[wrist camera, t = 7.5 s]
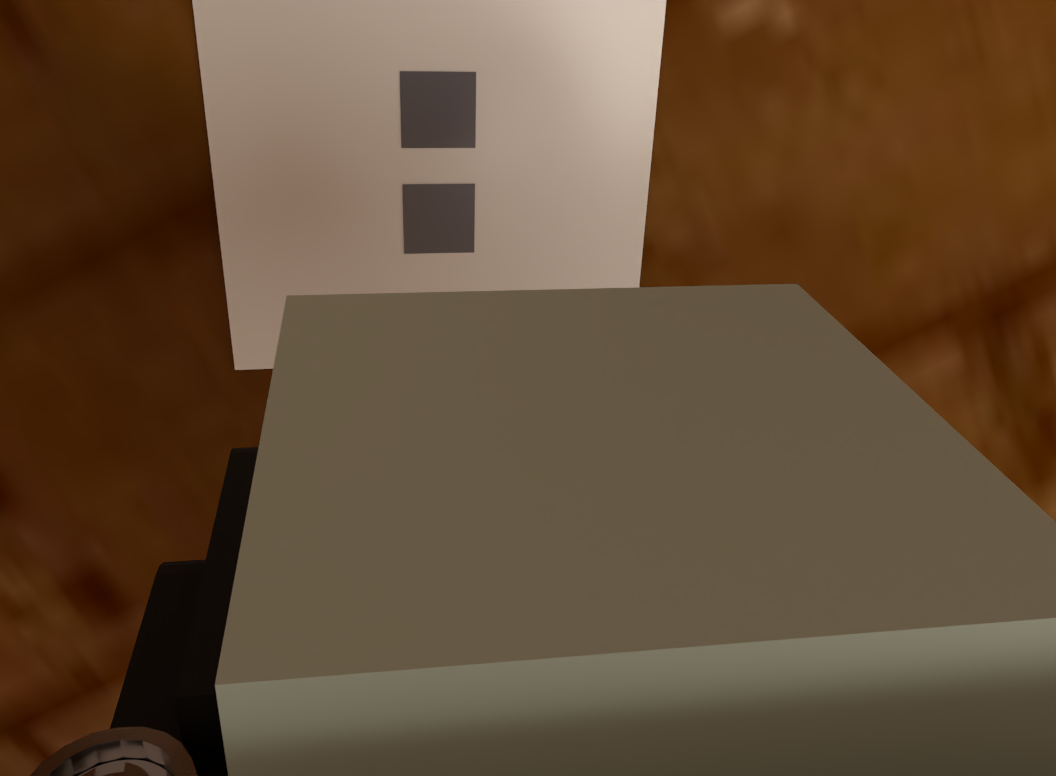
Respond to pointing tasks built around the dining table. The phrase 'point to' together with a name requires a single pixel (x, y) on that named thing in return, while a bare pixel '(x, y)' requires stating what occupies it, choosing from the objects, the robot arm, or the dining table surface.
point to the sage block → (625, 550)
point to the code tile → (425, 147)
